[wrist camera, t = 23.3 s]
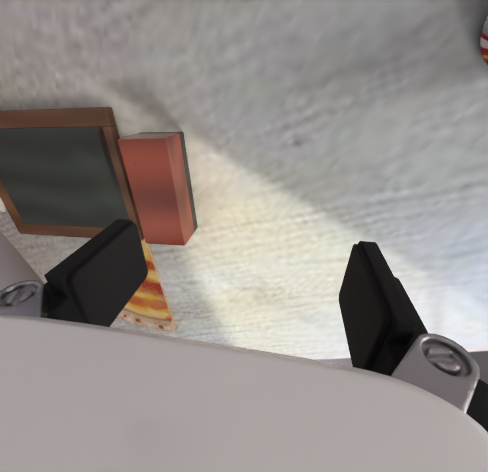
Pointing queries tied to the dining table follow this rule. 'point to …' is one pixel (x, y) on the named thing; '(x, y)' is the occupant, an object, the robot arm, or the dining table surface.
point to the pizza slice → (149, 300)
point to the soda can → (484, 41)
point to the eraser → (160, 185)
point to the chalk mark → (2, 206)
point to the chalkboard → (64, 172)
